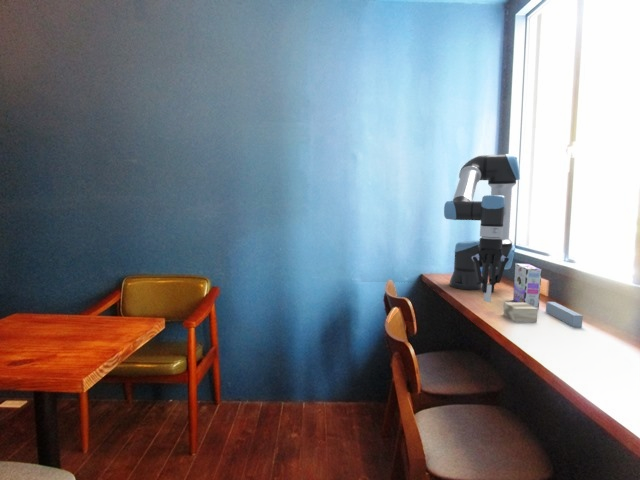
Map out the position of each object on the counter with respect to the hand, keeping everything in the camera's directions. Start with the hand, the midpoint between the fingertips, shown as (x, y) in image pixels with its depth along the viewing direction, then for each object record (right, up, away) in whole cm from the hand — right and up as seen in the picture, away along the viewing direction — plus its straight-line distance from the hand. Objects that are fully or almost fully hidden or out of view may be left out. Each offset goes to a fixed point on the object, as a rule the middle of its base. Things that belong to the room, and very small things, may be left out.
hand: (487, 301), depth 133 cm
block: (+12, -6, 0) cm, 14 cm away
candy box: (+24, -5, +18) cm, 31 cm away
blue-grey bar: (+28, -6, -1) cm, 28 cm away
